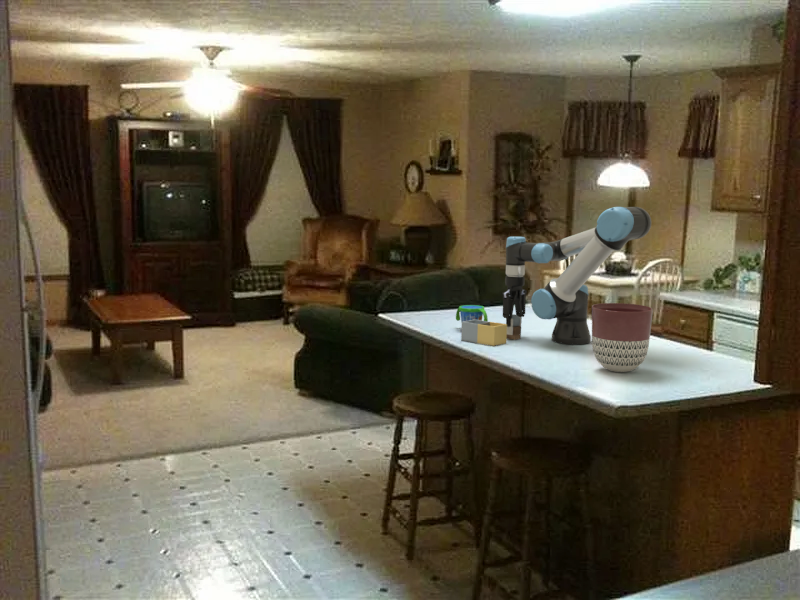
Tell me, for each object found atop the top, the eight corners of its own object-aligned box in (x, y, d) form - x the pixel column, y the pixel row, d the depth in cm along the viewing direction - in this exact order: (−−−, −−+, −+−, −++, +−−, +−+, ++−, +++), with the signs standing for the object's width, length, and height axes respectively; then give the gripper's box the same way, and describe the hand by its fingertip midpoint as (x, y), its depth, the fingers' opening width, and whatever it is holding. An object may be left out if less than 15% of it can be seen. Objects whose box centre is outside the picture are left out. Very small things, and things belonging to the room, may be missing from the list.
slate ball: (522, 326, 330) (522, 314, 330) (515, 328, 327) (515, 315, 326) (512, 325, 334) (512, 313, 333) (504, 326, 330) (505, 314, 329)
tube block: (506, 343, 321) (506, 324, 320) (493, 346, 315) (494, 326, 314) (474, 337, 331) (474, 319, 330) (461, 340, 325) (461, 321, 324)
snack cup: (449, 329, 350) (449, 305, 349) (467, 326, 357) (467, 303, 356) (475, 334, 338) (475, 310, 337) (493, 332, 345) (494, 307, 344)
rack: (520, 338, 331) (521, 326, 330) (514, 339, 328) (515, 327, 327) (496, 334, 339) (496, 322, 338) (490, 335, 336) (490, 323, 335)
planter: (613, 379, 263) (616, 313, 260) (577, 367, 281) (579, 304, 278) (661, 374, 271) (665, 310, 268) (623, 362, 289) (626, 301, 286)
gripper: (520, 273, 336) (518, 329, 340) (493, 276, 323) (492, 335, 327) (535, 274, 331) (534, 331, 335) (509, 278, 318) (508, 337, 322)
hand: (513, 333), depth 331 cm, fingers closed on slate ball, 5 cm apart
